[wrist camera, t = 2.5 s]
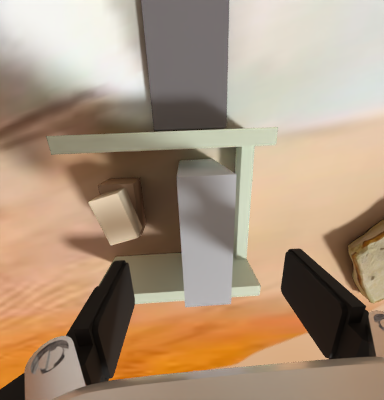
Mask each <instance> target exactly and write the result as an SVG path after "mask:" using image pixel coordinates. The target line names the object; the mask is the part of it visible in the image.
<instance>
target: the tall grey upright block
mask: <svg viewBox="0 0 384 400" xmlns="http://www.w3.org/2000/svg"><path fill="white" fill-rule="evenodd" d="M236 177H237V174H235V173H234V172H232V171H231V170H229V169H228V168H226V167H225V166H223V165H221V164H220V163H218V162H217V161H215V160H214V159H197V160H180V161H179V166H178V172H177V191H178V206H179V221H180V236H181V251H182V266H183V281H184V296H185V307H195V306H209V305H223V304H231V292H232V269H233V246H234V223H235V200H236Z"/></svg>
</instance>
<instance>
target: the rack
mask: <svg viewBox="0 0 384 400" xmlns="http://www.w3.org/2000/svg"><path fill="white" fill-rule="evenodd" d="M277 132H278V127H270V128H244V129H218V130H192V131H166V132H140V133H115V134H89V135H63V136H46V138H47V141H48V144H49V148H50V151H51V155H54V154H77V153H101V152H125V151H149V150H173V149H196V148H220V147H236V157H235V174H237V177H236V200H235V223H234V246H233V269H232V292H231V297H243V296H257V295H260V287H261V285H260V283H259V282H258V280H257V278H256V276H255V274H254V272H253V270H252V268H251V267H250V265H249V263H248V261H247V259H246V258H247V244H248V231H249V217H250V203H251V189H252V176H253V162H254V148H255V146H268V145H276V141H277ZM118 260H125V261H126V263H127V262H128V263H129V268H130V273H131V279H132V285H133V291H134V297H135V304H143V303H157V302H171V301H185V296H184V281H183V266H182V253H167V254H150V255H134V256H118V257H115V259H114V260H113V262H114V261H118ZM113 262H112V263H113ZM111 265H112V264H111ZM111 265H110V267H111ZM110 267H109V268H110ZM108 270H109V269H108ZM107 272H108V271H107ZM107 272H106V273H107ZM105 275H106V274H105ZM104 277H105V276H104ZM104 277H103V278H104ZM102 280H103V279H102ZM101 282H102V281H101ZM99 285H100V284H99Z"/></svg>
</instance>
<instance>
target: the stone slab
mask: <svg viewBox="0 0 384 400" xmlns="http://www.w3.org/2000/svg"><path fill="white" fill-rule="evenodd" d="M348 249H349V250H348V251H349V255H350V258H351V260H352V262H353V267H354V271H353V273H352V278H353V280H354V282H355V284H356V286H357V287H358V289H359V290H360V292H361V294H362V295H363V296H365V297H366V298H367V299H368V300H369V302H371V303H376V302H379V301H381V300H383V299H384V219H383V220H382V221H380V222H379V223H378V224H376V225H375V226H373V227H372V228H371V229H369V231H368V232H367V233H366V234H365V235H363V236H361V237H359V238H358V239H356V240H355V241H353V242H352V243H351V244H349V245H348Z"/></svg>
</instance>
